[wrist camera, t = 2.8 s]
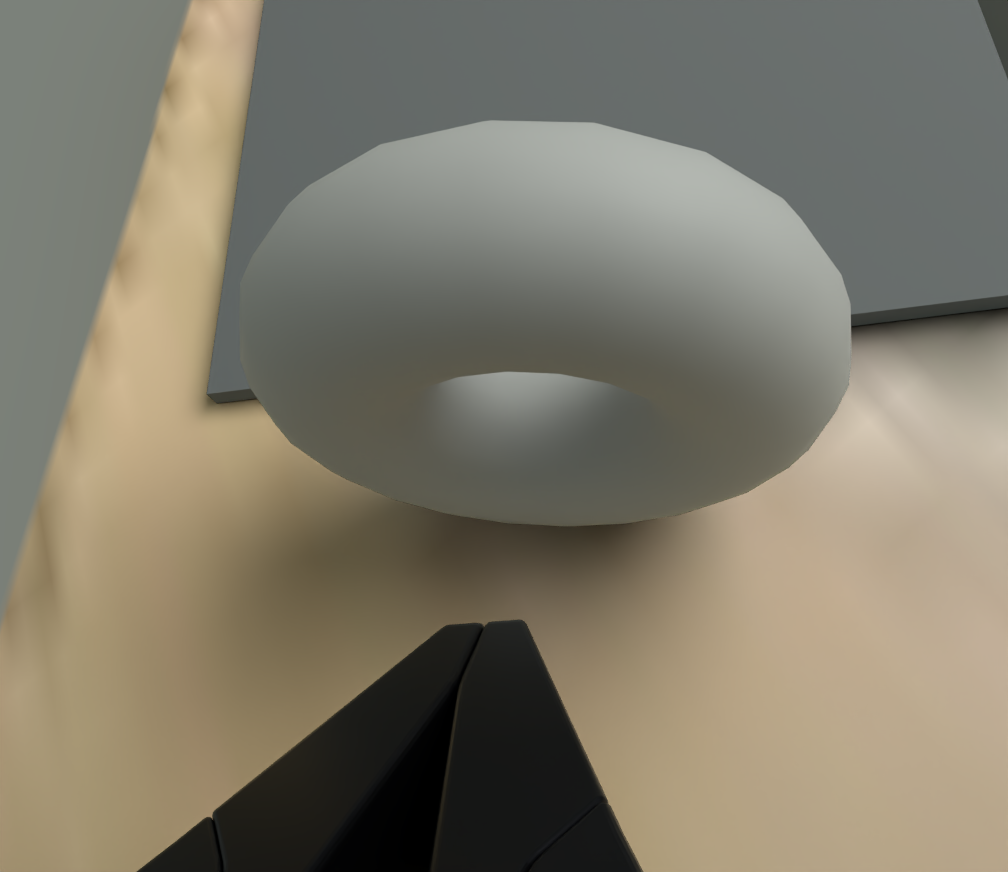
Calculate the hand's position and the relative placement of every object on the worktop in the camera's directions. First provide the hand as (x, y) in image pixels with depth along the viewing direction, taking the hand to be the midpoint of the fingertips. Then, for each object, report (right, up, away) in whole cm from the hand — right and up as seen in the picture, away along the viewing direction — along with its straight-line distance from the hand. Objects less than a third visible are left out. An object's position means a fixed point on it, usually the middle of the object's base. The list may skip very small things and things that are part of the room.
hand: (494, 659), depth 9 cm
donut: (+2, +1, +10) cm, 11 cm away
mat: (+2, +13, +16) cm, 21 cm away
